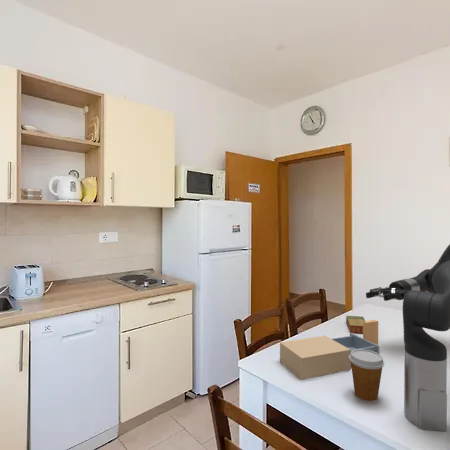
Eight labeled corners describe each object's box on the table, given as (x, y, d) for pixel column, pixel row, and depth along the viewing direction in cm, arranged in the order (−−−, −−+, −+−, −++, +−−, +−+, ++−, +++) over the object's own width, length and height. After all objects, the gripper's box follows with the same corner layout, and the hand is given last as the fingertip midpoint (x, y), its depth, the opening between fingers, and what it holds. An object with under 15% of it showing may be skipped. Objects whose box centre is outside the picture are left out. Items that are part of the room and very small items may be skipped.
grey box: (334, 371, 104) (335, 334, 104) (310, 354, 118) (310, 322, 117) (391, 359, 113) (392, 326, 113) (362, 345, 126) (363, 315, 126)
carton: (349, 333, 142) (349, 324, 142) (345, 323, 157) (345, 314, 157) (369, 335, 140) (369, 326, 140) (363, 324, 155) (363, 316, 155)
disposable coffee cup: (354, 383, 98) (354, 346, 97) (387, 394, 92) (387, 354, 91) (344, 396, 90) (344, 356, 90) (379, 409, 84) (380, 365, 84)
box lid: (301, 379, 100) (301, 358, 100) (279, 361, 113) (280, 342, 113) (350, 369, 107) (350, 349, 107) (324, 353, 120) (324, 335, 120)
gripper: (388, 278, 133) (359, 285, 127) (419, 280, 120) (389, 288, 114) (391, 296, 132) (362, 304, 126) (422, 300, 119) (392, 309, 113)
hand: (375, 296), depth 120 cm, fingers open, 8 cm apart
